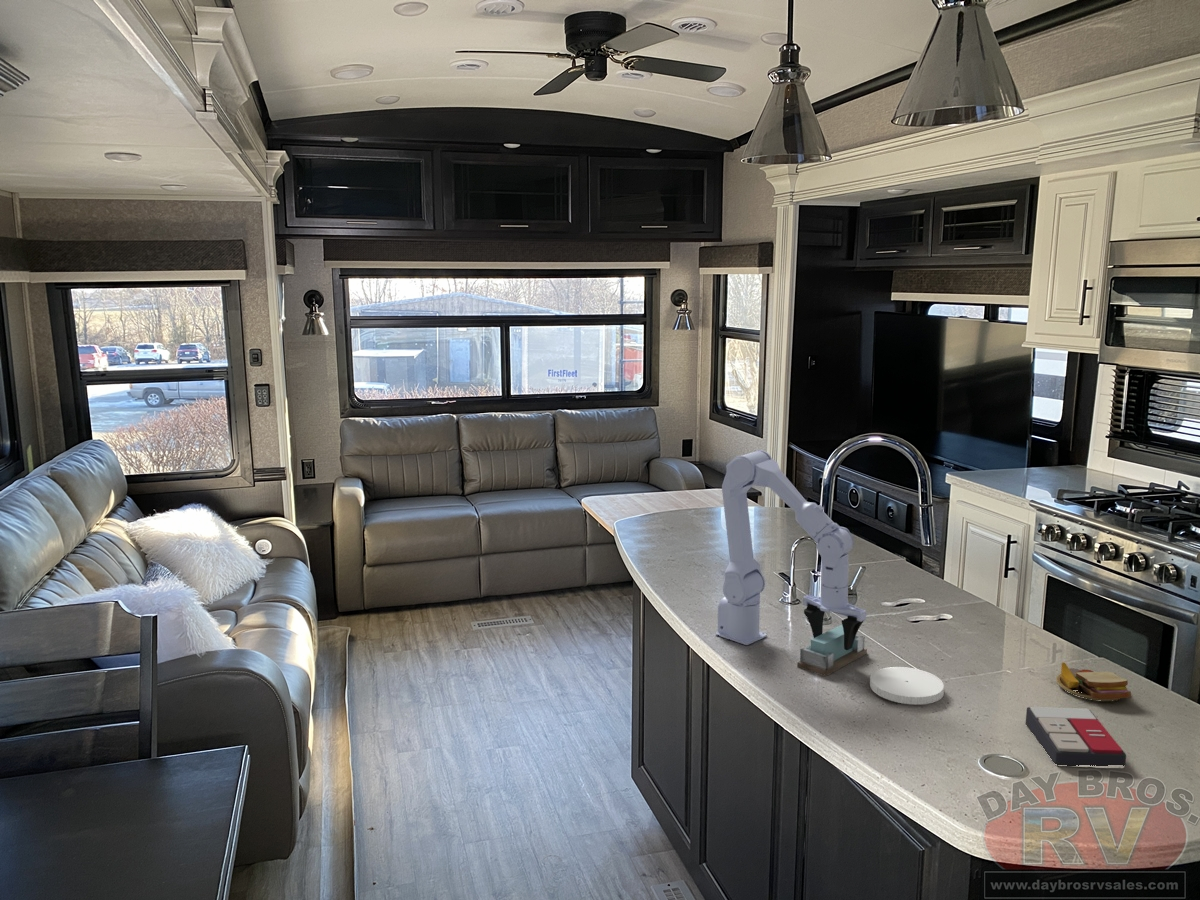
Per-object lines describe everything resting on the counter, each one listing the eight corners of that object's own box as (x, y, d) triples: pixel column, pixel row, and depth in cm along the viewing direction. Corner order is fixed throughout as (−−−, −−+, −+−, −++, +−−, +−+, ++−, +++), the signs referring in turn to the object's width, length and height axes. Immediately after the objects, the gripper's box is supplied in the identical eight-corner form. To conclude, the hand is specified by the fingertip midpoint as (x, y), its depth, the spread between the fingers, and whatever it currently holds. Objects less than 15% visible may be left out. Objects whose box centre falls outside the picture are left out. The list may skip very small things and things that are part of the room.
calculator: (1057, 748, 148) (1026, 702, 163) (1055, 771, 149) (1024, 724, 164) (1128, 751, 147) (1090, 705, 161) (1125, 774, 148) (1087, 726, 162)
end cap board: (797, 666, 190) (797, 662, 190) (839, 644, 201) (839, 640, 201) (825, 676, 185) (825, 671, 185) (866, 653, 196) (866, 649, 196)
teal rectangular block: (810, 661, 190) (810, 639, 189) (840, 645, 198) (841, 624, 197) (824, 666, 188) (824, 644, 187) (854, 649, 196) (855, 628, 195)
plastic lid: (876, 707, 171) (876, 695, 171) (864, 676, 185) (865, 665, 185) (951, 710, 169) (952, 698, 169) (934, 679, 183) (934, 667, 183)
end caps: (800, 661, 190) (800, 648, 190) (838, 641, 200) (839, 629, 200) (825, 670, 185) (826, 657, 185) (864, 649, 196) (864, 636, 195)
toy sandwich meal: (1113, 678, 181) (1115, 656, 181) (1139, 709, 168) (1142, 685, 168) (1047, 675, 184) (1049, 653, 183) (1069, 704, 171) (1070, 681, 170)
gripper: (795, 581, 192) (794, 639, 195) (854, 596, 182) (852, 658, 184) (813, 573, 197) (812, 631, 200) (872, 588, 187) (870, 648, 189)
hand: (832, 643), depth 192 cm, fingers open, 7 cm apart
